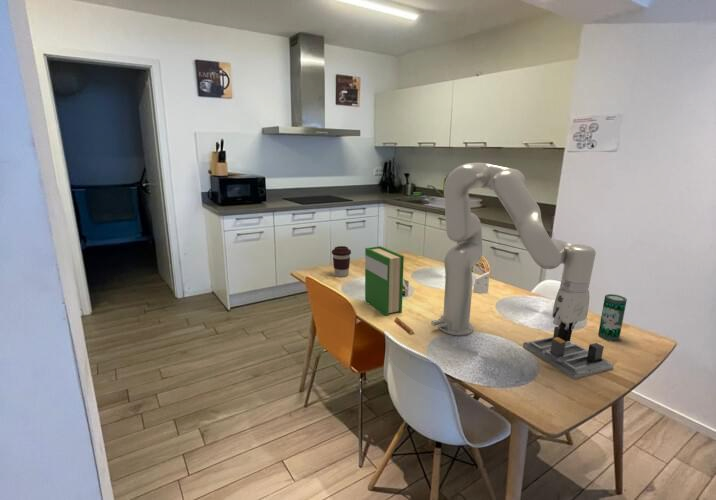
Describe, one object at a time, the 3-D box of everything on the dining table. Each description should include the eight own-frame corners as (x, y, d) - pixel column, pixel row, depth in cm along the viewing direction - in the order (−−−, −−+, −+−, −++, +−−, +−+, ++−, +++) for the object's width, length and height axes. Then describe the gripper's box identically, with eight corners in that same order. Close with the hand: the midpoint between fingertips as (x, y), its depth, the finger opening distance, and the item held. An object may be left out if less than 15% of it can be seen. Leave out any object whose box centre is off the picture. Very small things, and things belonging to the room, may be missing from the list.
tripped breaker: (556, 357, 120) (558, 342, 119) (550, 353, 122) (552, 338, 121) (563, 355, 121) (566, 340, 120) (557, 352, 123) (559, 336, 122)
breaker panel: (574, 379, 112) (577, 358, 110) (522, 347, 130) (525, 328, 128) (613, 368, 117) (616, 348, 115) (558, 339, 135) (561, 321, 134)
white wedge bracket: (497, 288, 177) (489, 272, 175) (477, 298, 179) (469, 282, 178) (495, 286, 180) (487, 270, 179) (476, 295, 183) (467, 280, 181)
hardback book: (401, 312, 157) (403, 255, 151) (386, 316, 154) (387, 258, 148) (379, 298, 172) (380, 246, 166) (365, 301, 169) (365, 248, 163)
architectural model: (402, 298, 173) (403, 282, 171) (392, 293, 179) (393, 278, 177) (408, 296, 175) (408, 281, 173) (398, 292, 181) (399, 277, 179)
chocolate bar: (408, 336, 138) (409, 330, 138) (393, 322, 149) (393, 317, 148) (415, 334, 139) (415, 329, 139) (399, 321, 150) (399, 316, 149)
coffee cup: (330, 273, 207) (329, 246, 203) (348, 271, 209) (347, 244, 206) (334, 278, 197) (334, 250, 194) (353, 277, 200) (353, 249, 196)
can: (596, 336, 137) (603, 297, 133) (601, 331, 141) (608, 292, 137) (616, 342, 133) (624, 302, 129) (620, 337, 137) (628, 297, 133)
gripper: (566, 292, 111) (555, 349, 116) (603, 287, 116) (591, 341, 121) (545, 283, 118) (536, 337, 123) (581, 278, 123) (571, 330, 128)
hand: (563, 339), depth 122 cm, fingers closed
